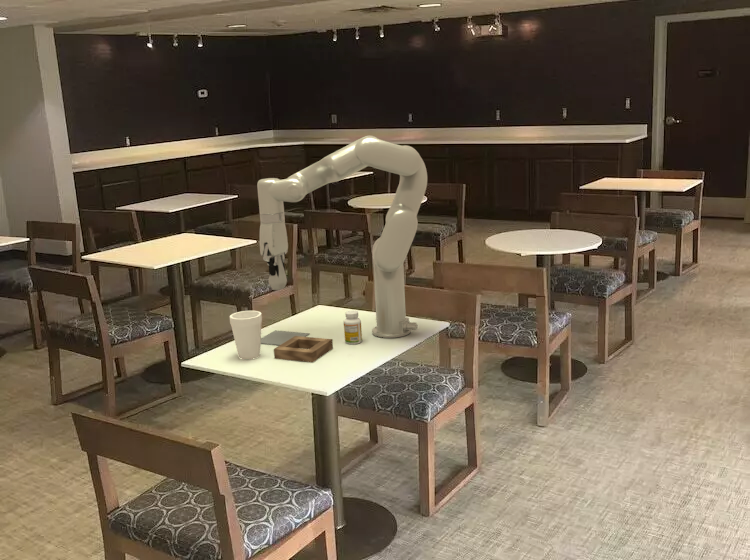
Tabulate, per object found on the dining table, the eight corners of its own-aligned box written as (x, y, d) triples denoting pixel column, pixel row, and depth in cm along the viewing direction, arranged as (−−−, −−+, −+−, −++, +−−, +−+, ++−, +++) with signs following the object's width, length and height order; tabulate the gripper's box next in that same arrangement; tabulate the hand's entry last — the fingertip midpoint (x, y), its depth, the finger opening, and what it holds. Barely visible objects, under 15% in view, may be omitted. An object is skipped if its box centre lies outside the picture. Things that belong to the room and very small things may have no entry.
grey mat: (309, 334, 250) (309, 333, 250) (289, 346, 238) (289, 345, 238) (275, 331, 255) (275, 330, 255) (254, 343, 244) (254, 342, 244)
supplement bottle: (352, 338, 244) (350, 309, 241) (365, 341, 240) (364, 311, 238) (341, 343, 240) (339, 313, 237) (354, 345, 236) (352, 315, 234)
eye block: (332, 348, 235) (332, 339, 234) (312, 362, 223) (312, 352, 222) (295, 345, 240) (295, 335, 239) (274, 358, 228) (273, 348, 228)
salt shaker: (289, 286, 245) (286, 246, 242) (284, 290, 239) (281, 249, 236) (272, 286, 246) (268, 246, 243) (266, 290, 241) (263, 250, 238)
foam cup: (246, 349, 238) (242, 309, 235) (271, 352, 234) (267, 312, 231) (227, 359, 230) (223, 317, 227) (252, 362, 225) (248, 320, 222)
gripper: (275, 214, 246) (280, 269, 251) (247, 222, 232) (253, 281, 236) (295, 214, 243) (300, 270, 248) (269, 223, 229) (274, 282, 233)
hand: (277, 275), depth 242 cm, fingers closed on salt shaker, 3 cm apart
